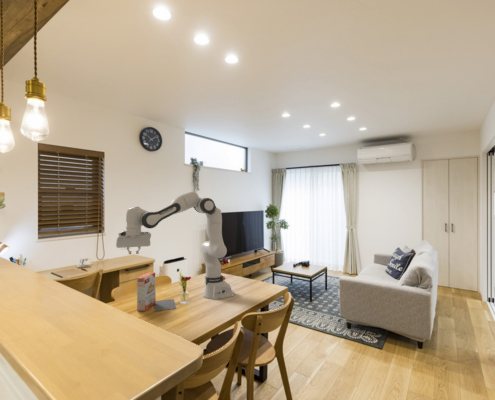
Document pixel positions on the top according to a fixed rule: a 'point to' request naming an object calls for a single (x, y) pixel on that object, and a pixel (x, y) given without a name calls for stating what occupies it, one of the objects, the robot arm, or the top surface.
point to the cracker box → (146, 291)
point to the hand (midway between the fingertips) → (133, 253)
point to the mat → (164, 305)
